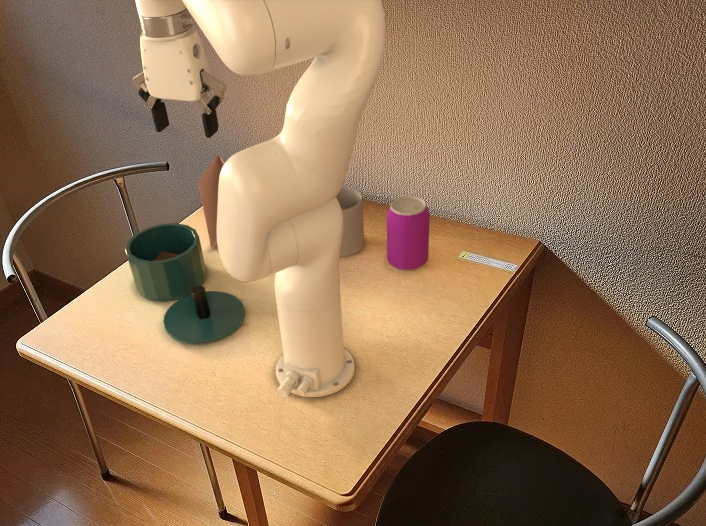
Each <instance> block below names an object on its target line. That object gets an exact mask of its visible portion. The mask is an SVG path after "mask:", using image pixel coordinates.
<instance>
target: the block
mask: <svg viewBox="0 0 706 526" xmlns="http://www.w3.org/2000/svg"><path fill="white" fill-rule="evenodd" d="M178 255H179V254H174V253H168V252H163V251H162V252H161V253H160V254H159V255H158V256H157V257H156V258H155V259H154V260H153V261H160V260H166V259H169V258H173V257H176V256H178Z"/></svg>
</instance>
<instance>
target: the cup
mask: <svg viewBox="0 0 706 526" xmlns="http://www.w3.org/2000/svg"><path fill="white" fill-rule="evenodd" d="M336 198H337V200H338V202H339V204H340V206H341V209H342V213H343V237H342V243H341V249H340V257H348V256H353V255H356V254H358V253H359V252H360V251H362V249H363V247H364V245H365V232H364V231H365V230H364V202H363V201H364V200H363V196H362V193H361V192H359V191H357V190H355V189H353V188H347V187H342V189H341V190H340V192H339V193H338V195H337V196H336Z"/></svg>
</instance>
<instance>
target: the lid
mask: <svg viewBox="0 0 706 526" xmlns="http://www.w3.org/2000/svg"><path fill="white" fill-rule="evenodd" d="M191 292H192V294H191V295H188V296H186V297H184V298H181V299H178V300H176V301H175V302H174V303H173V304H171V306H169V308H168V309H167V310H166V312H165V313H164V316H163V318H162V324H163V328H164V331H165V333H166V334H167V335H168V336H169V337H170V338H171V339H173V340H174V341H177V342H180V343H183V344H190V345H202V344H203V345H204V344H210V343H213V342H217V341H220V340H222V339H225V338H226V337H228V336H230V335H231V334H233V333H234V332H236V331H237V330H238V329H239V328H240V326H242V324H243V322H244V321H245V318H246V317H245V316H246V310H245V305H244V304H243V302H242V301H241V299H240V298H238V297H237V296H236V295H234V294H231V293H228V292H225V291H219V290H206V287H205V286H203V285H202V286H196V287H194V288H193V289H192V291H191Z"/></svg>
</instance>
